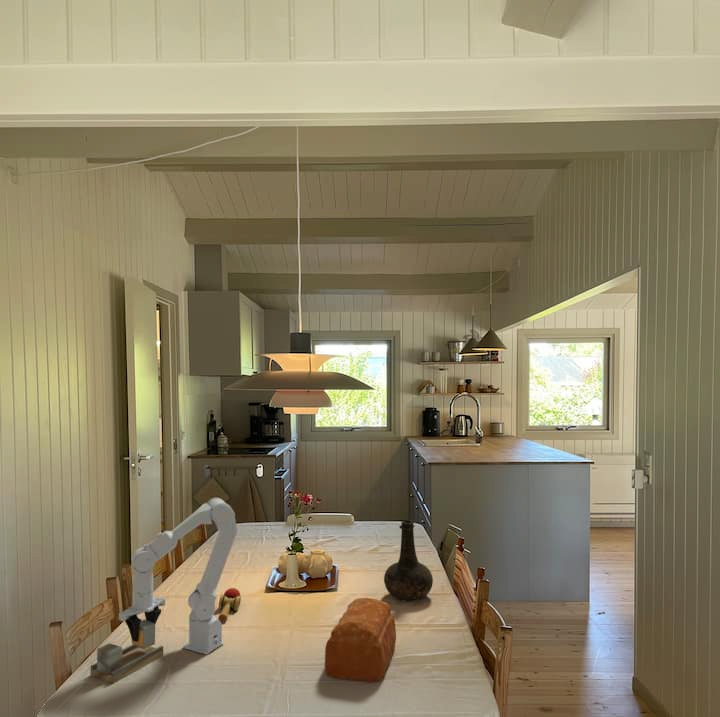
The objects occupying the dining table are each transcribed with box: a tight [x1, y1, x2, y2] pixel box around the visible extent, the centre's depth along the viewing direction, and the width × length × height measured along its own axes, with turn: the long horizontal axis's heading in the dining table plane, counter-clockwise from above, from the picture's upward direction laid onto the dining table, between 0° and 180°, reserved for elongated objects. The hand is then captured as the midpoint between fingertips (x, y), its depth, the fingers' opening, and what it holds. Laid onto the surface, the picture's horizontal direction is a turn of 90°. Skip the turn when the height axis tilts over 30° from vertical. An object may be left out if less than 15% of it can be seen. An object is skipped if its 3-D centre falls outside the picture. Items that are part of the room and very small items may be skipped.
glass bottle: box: [383, 519, 434, 602], centre depth 228 cm, size 18×18×28 cm
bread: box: [324, 597, 397, 683], centre depth 180 cm, size 17×24×15 cm
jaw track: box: [89, 642, 164, 684], centre depth 176 cm, size 9×18×8 cm, turn 152°
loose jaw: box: [131, 618, 156, 649], centre depth 181 cm, size 5×4×6 cm
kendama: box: [217, 587, 242, 623], centre depth 214 cm, size 8×6×18 cm
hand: (142, 637), depth 181 cm, fingers closed on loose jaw, 4 cm apart
